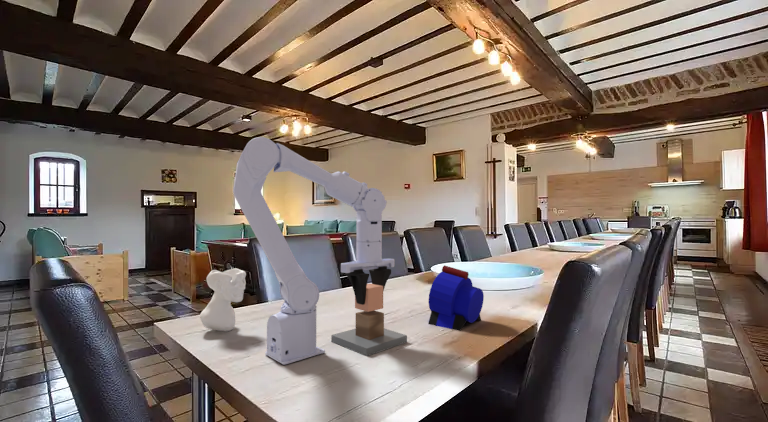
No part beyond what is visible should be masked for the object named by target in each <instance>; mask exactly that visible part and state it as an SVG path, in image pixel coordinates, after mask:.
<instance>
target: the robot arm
mask: <svg viewBox="0 0 768 422" xmlns="http://www.w3.org/2000/svg"><path fill="white" fill-rule="evenodd" d="M272 170H273V173H282V172H290V173H293V174H294V175H295V174H296V175H297V176H300V177H302V178H304V179H306V180H308V181H311V182H312V183H315V184H317V185H320V186H322V187H323V188H324V191H325V193H326V195H327V196H329V197H331V198H332V199H335V200H337V201H339V202H341V203H343V204H344V205H347V206H350V207H351V208H353V210H354V211H355V212H356V244H355V245H356V249H355V250H356V253H355V254H356V260H352V261H349V262H348V261H347V262H341V263H340V273H341V274H342V273H343V274H344V273H345V274H346V275H345V276H346V278H348V280H349V282H350V284H351V287H352V290H353V294H354V298H355V297H356V302H357V303H358V304H362V305H363V304H365V299H366V286H367V284H368V281H369V277H370V280H371V284H375V285H381V286H383V292H384V290H385V287H386V284H387V281H388V280H389V278H390V276H391V275H392V269H391V268H394V267H395V263H396V262H395V261H396V260H395V258H383V257H382V256H383V255H382V254H383V251H382V249H383V246H382V241H383V238H382V237H383V234H382V232H383V230H382V227H383V222H382V221H383V220H382V214H383V211H384V210H385V209H386V206H387V203H388V202H387V200H386V199H385V195H384V194H383V191H381V190H380V189H378V188H375V187H368V183H367V182H360V181H358V180H356V179H355V178H353V177H351V176H350V173H349V172H348V171H342V172H341V171H335V172H332V173H331V172H329V171H327V170H326V169H325V168H323V167H320V165H318V164H315V163H314V162H313V161H311V160H309V159H307V158H305V157H303V156H302V155H300V154H299V153H297V152H295V151H294V150H292V149H291V148H288V147H287V146H285V145H284V144H281V143H279V142H276V143H275V142H274V141H273V140H271V139H270V138H267V137H264V136H258V137H254V138H252V139H251V140H249V141H248V142H247V143H246V145H245V147H244V148H243V150H242V152H241V153H240V156H239V159H238V160H237V162H236V168H235V175H234V182H233V188H232V192H233V193H232V194H233V196H234V198H235V200H236V202H237V204H238V205H239V207H240V209H241V211H242V213H243V215H244V216H245V219H246V221H247V222H248V224H249V226H250V228H251V230H252V232H253V233H254V236H255V237H256V239H257V242H258V243H259V244H260V247H261V248H262V250H263V253H264V254H265V256H266V257H267V259H268V262H269V263H270V265H271V267H272V269H273V272H274V273H275V274H274V275H275V276H276V278H277V279H276V280H277V281H278V284H279V294H280V297H281V298H282V299H283V302H282V304H281V306H280V311H278V312H277V313H274V314H272V315H270V316H269V317H268V319H267V322H266V351H265V352H264V354H265V355H266V356H267V357H269V358H271V359H272V360H274V361H277V362H278V363H280V364H282V365H288V364H292V363H294V362H298V361H302V360H304V359H308V358H312V357H314V356H319V355H321V354H324V353H325V352H326V351H325V349H323V348H322V347H319V346H317V303H318V302H319V300H320V289H319V288H318V285H317V284H316V283H315V282H313V281H312V280H310V278H308V277H307V275H306V273H305V271H304V270H303V268H302V267H301V266H300V264H299V263H298V262H297V259H296V257H295V256H294V253H293V252H292V250H291V248H290V245H289V243H288V242H287V240H286V238H285V236H284V234H283V232H282V230H281V228H280V227H279V224H278V223H277V221H276V219H275V217H274V215H273V213H272V211H271V210H270V208H269V206H268V203H267V202H266V200H265V197H264V196H263V194H262V189H263V187H264V184H265V181H266V179H267V176H268V175H269V174H270V173H271V171H272ZM365 271H369V272H368V273H366V272H365Z"/></svg>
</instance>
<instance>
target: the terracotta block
mask: <svg viewBox="0 0 768 422" xmlns="http://www.w3.org/2000/svg"><path fill="white" fill-rule="evenodd" d="M354 309H356V310H360V311H367V312H370V311H378V310H381V309H384V291H383V286H381V285H375V284H372V283H367V286H366V299H365V304H363V305H362V304H358V303H357V302H356V297H355V296H354Z"/></svg>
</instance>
